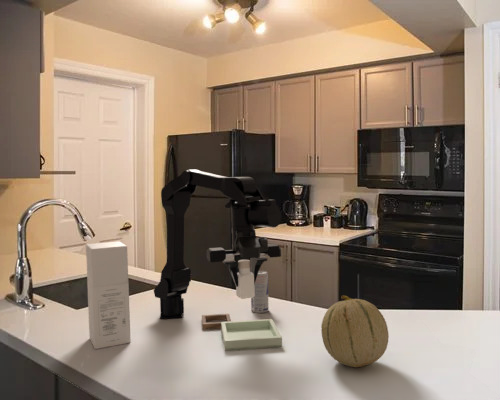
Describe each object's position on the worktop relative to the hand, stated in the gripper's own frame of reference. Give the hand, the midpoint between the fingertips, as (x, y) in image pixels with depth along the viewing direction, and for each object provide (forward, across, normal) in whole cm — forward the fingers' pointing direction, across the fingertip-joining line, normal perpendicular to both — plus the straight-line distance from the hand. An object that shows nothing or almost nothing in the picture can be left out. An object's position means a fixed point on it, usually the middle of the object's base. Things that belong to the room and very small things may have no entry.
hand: (245, 285), depth 119 cm
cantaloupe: (+14, +19, -23) cm, 33 cm away
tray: (+14, 0, -2) cm, 14 cm away
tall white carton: (+13, -34, +8) cm, 38 cm away
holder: (+13, -6, +12) cm, 19 cm away
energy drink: (+14, +10, +20) cm, 26 cm away
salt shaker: (+3, 0, 0) cm, 3 cm away
